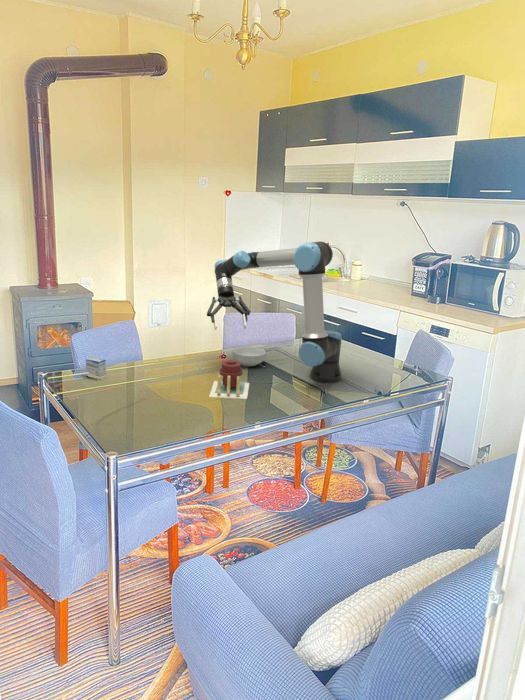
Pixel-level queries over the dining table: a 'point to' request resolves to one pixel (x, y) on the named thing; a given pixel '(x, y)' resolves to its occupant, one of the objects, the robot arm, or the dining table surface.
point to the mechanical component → (231, 372)
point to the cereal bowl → (249, 355)
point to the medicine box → (96, 366)
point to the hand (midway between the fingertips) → (230, 327)
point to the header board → (243, 391)
